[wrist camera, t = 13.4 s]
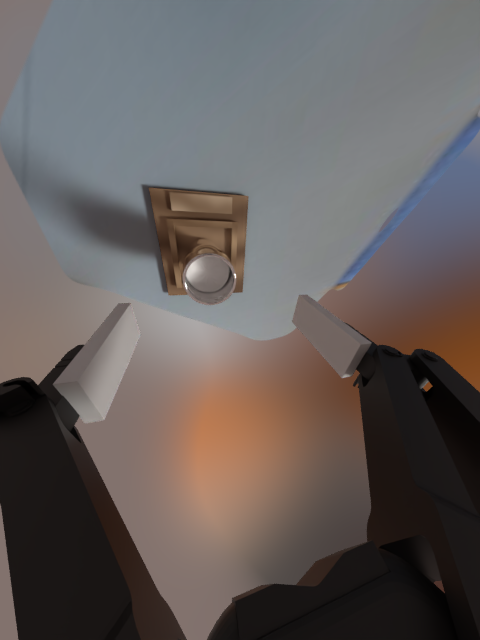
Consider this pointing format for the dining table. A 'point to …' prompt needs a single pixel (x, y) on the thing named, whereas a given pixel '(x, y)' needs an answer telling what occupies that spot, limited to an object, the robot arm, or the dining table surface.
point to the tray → (198, 229)
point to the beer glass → (208, 273)
